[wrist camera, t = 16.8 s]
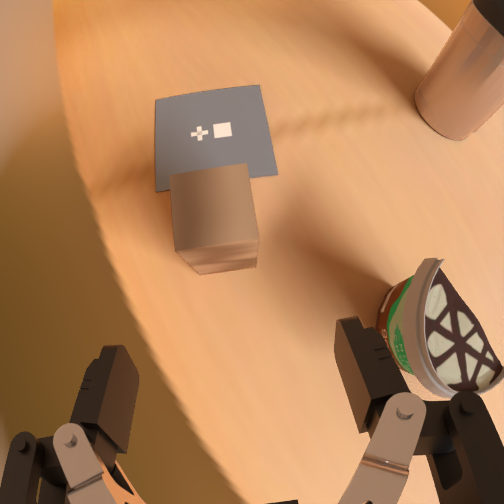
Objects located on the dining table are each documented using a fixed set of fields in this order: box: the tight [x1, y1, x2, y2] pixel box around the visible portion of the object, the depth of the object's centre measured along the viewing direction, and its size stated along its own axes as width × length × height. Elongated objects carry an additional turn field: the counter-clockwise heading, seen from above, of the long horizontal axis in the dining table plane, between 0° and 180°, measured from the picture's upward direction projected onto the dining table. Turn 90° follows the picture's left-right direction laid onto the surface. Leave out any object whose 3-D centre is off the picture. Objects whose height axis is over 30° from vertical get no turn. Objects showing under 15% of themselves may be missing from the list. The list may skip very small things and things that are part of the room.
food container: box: [376, 258, 504, 399], centre depth 22 cm, size 12×6×10 cm, turn 39°
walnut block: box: [169, 163, 259, 275], centre depth 24 cm, size 5×5×10 cm
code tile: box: [155, 85, 278, 192], centre depth 31 cm, size 12×12×1 cm
